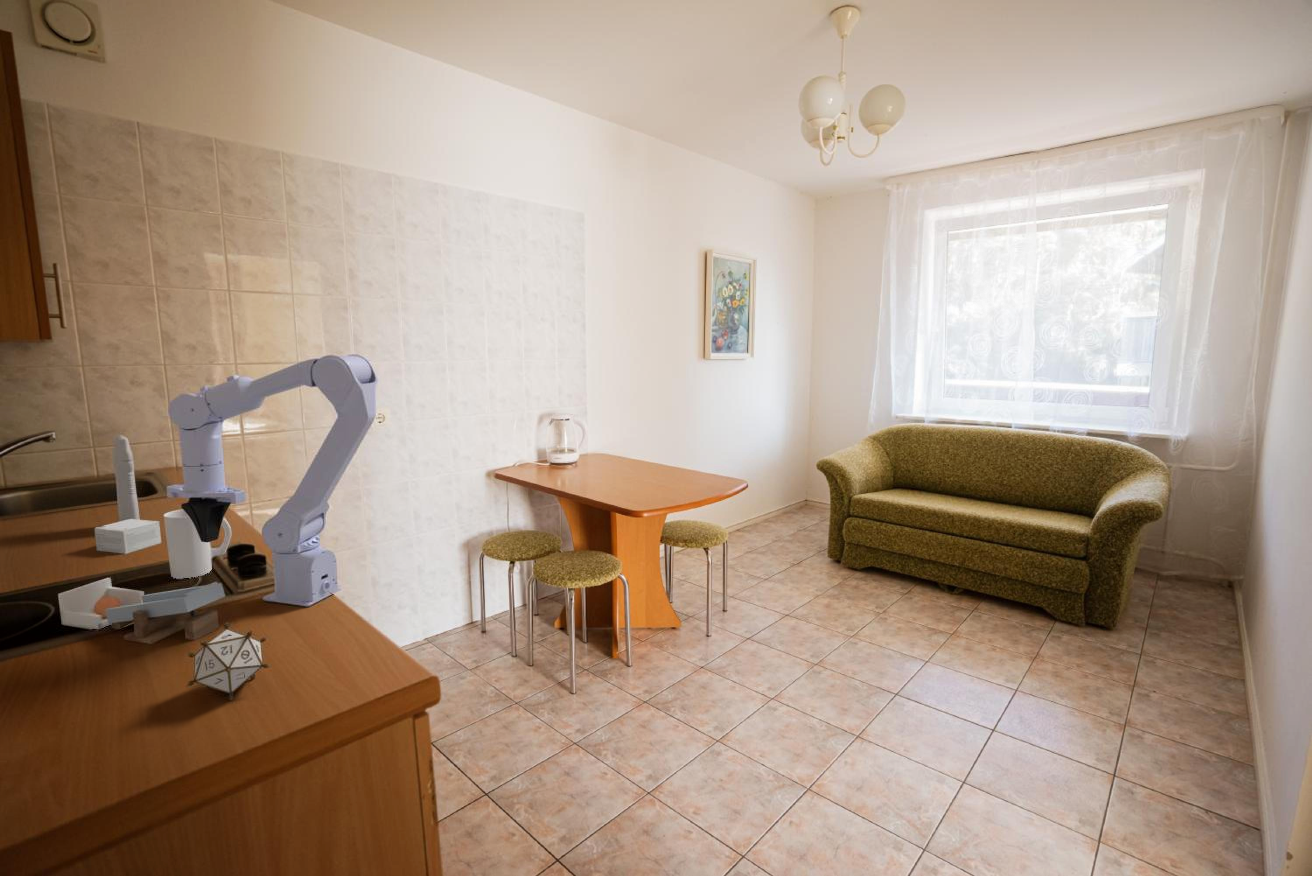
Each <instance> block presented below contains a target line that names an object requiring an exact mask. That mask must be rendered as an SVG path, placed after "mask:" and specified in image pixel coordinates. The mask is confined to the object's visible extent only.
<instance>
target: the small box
mask: <svg viewBox="0 0 1312 876" xmlns="http://www.w3.org/2000/svg"><path fill="white" fill-rule="evenodd" d="M94 536H95V546H96V551H98V552H107V553H115V554H123V555H124V554H125V555H126V554H129V553H132V552H136V551H139V550H143V549H146V548H149V547H152V546H156V545H159V544H162V537H161V536H162V535H161V528H160V521H159V520H158V521H157V520H146V519H140V520H138V519H128V520H124V521H117V522H113V523H109V524H105V525H101V526H96V527H94Z"/></svg>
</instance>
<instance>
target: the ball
mask: <svg viewBox="0 0 1312 876" xmlns="http://www.w3.org/2000/svg"><path fill="white" fill-rule="evenodd" d="M115 607H121V602H120V600H119V599H117V598H116V597H112V596H108V597H104V598H101V599H100V600H98V601H97V602H96V604H95V606H94V612H95V613H96V614H97V615H101V617H106V613H105V610H106V609H109V608H115Z"/></svg>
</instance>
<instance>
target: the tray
mask: <svg viewBox="0 0 1312 876" xmlns="http://www.w3.org/2000/svg"><path fill="white" fill-rule="evenodd" d="M144 595H145V591H143V590H136V589H129V588H124V587H121V588H120V587H116V586H112V579H111V577H106V578H103V579H100V580H97V581H93V582H91V583H88V584H85V585H82V586H78V587H75V588H73V589H70V590H65V591H63V592H60V593H58V594H57V596H58V597H57V598H58V604H59V613H60V621H61V625H63V626H68V627H75V628H81V629H87V630H92V629H101V628H104V627H106V626H109V625H111V626H112V623H110V624H109V623H108V620H107V617H101V615H97V614H96V613H95V612H94V606H95V604H96V602H97V601H98V600H100V599H101V598H104V597H108V596H112V597H116V598H117V599H119V600H120V602H121V606H128V605H134V604H141V603H143V600H142V596H144ZM109 627H110V626H109ZM106 628H107V627H106ZM104 629H105V628H104ZM101 630H102V629H101Z"/></svg>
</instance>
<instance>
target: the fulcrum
mask: <svg viewBox="0 0 1312 876" xmlns="http://www.w3.org/2000/svg"><path fill="white" fill-rule="evenodd" d="M199 608H200V607H199ZM199 608H197V609H194V610H192V611H189V612H186V613H179V614H172V615H165V616H158V617H151V618H147V611H142V610H137V611H134V612H133V620H130V621H124V622H117V623H112V625H111V628H117V629H122V628H123V627H124V626H126V625H128V624H130V623H132V622H134V625H133V630H134V631H133V632H130V633H127V634H125V635H123V637H124V639H123V640H124V641H125V640H126V641H130V642H131V641H132V642H137V643H143V644H149V645H153V644H155V643H156V642H158V641H160V640H163V639H165V638H168V637H169V636H170V637H171V636H172V635H174V634H176V633H178V632H181V631H183V630H184V634H185V640H191V641H196V640H198V639H200V638H202V637H204V636H206V635H209V634H210V633H212V632H214V631H216V630H219V628H220V627H219V626H220V625H219V614H218V610H214V609H207V610H205V611H203V612H200V611H199V610H200V609H199ZM122 630H123V629H122Z"/></svg>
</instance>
